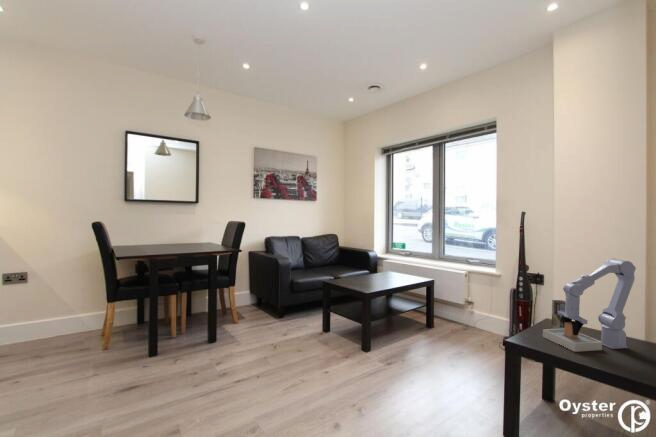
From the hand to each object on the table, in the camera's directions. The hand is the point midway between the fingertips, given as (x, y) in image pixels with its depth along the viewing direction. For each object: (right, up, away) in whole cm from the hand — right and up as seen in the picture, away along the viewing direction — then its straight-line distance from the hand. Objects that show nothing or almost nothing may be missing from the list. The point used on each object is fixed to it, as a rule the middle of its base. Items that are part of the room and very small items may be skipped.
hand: (571, 333), depth 160 cm
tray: (0, -5, 0) cm, 5 cm away
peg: (0, -3, 0) cm, 3 cm away
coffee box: (+9, -5, +19) cm, 21 cm away
